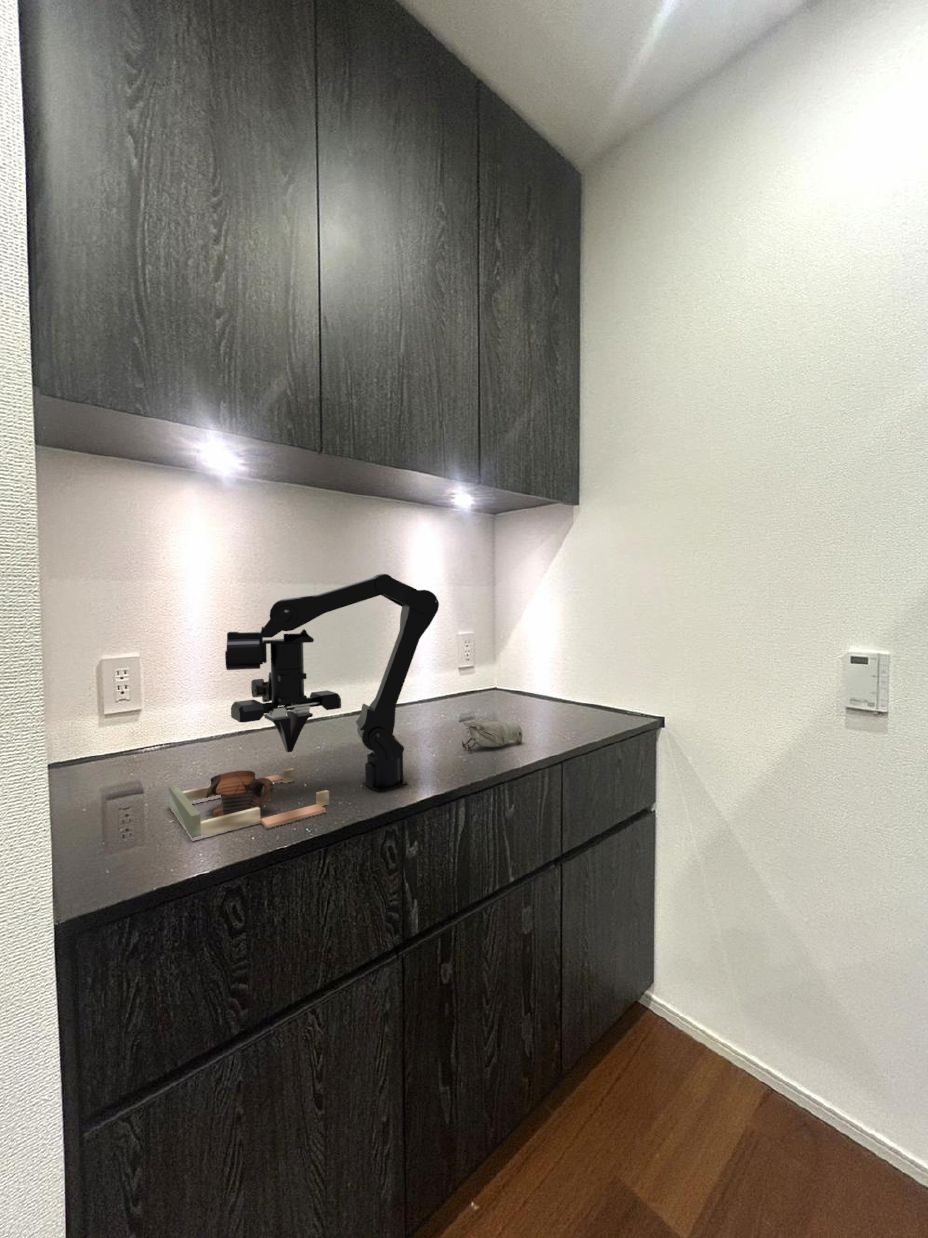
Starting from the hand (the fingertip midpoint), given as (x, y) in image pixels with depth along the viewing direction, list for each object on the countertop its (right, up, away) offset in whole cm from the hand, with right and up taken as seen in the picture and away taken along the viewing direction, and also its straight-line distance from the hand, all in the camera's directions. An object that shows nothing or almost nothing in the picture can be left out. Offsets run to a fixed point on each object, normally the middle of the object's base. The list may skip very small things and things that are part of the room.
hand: (289, 751), depth 100 cm
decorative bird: (+39, -7, +31) cm, 51 cm away
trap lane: (-5, -9, -4) cm, 11 cm away
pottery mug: (-6, -9, -6) cm, 13 cm away
